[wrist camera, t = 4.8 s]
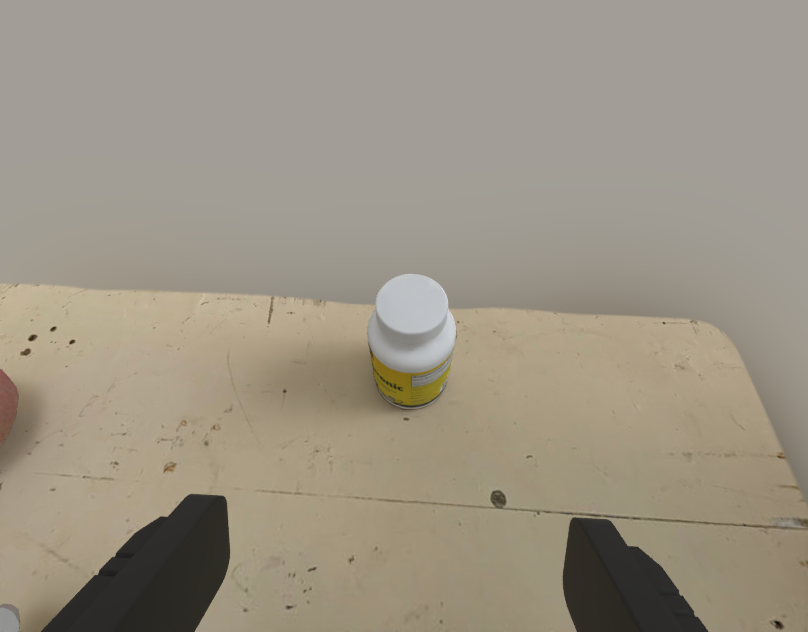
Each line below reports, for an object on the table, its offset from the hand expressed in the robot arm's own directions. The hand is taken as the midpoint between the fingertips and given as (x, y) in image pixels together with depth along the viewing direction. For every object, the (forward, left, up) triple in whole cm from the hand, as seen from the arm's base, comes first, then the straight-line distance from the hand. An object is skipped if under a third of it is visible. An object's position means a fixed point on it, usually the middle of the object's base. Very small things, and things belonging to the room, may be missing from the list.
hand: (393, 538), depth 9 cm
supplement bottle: (0, -12, -17) cm, 21 cm away
